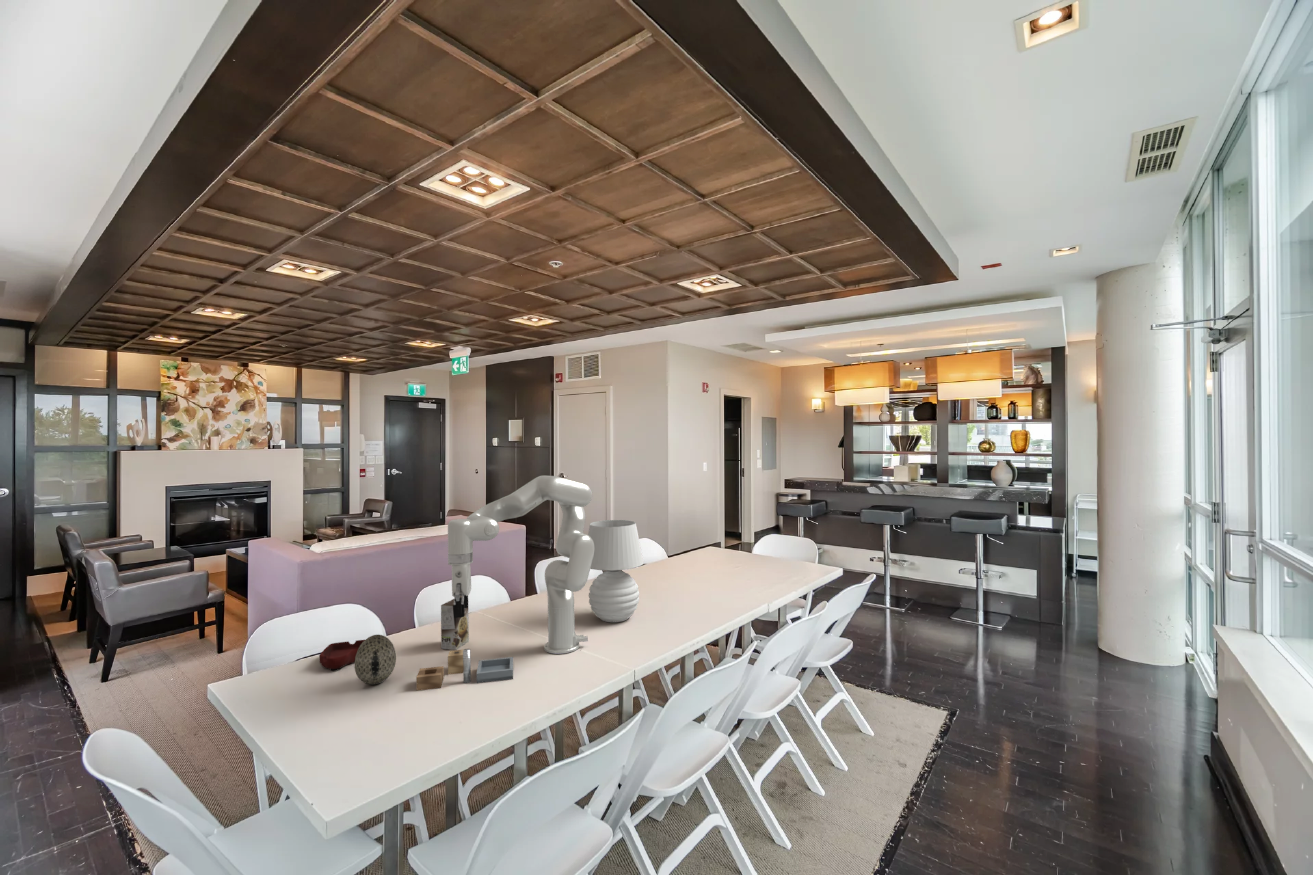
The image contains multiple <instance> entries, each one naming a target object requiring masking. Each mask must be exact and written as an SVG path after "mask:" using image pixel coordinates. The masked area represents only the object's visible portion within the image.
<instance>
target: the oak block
mask: <svg viewBox="0 0 1313 875" xmlns="http://www.w3.org/2000/svg"><path fill="white" fill-rule="evenodd" d="M464 649H465V648H464ZM464 649H457V650H449V651H448V654H447V674H448V675H457V674H463V650H464Z"/></svg>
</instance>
